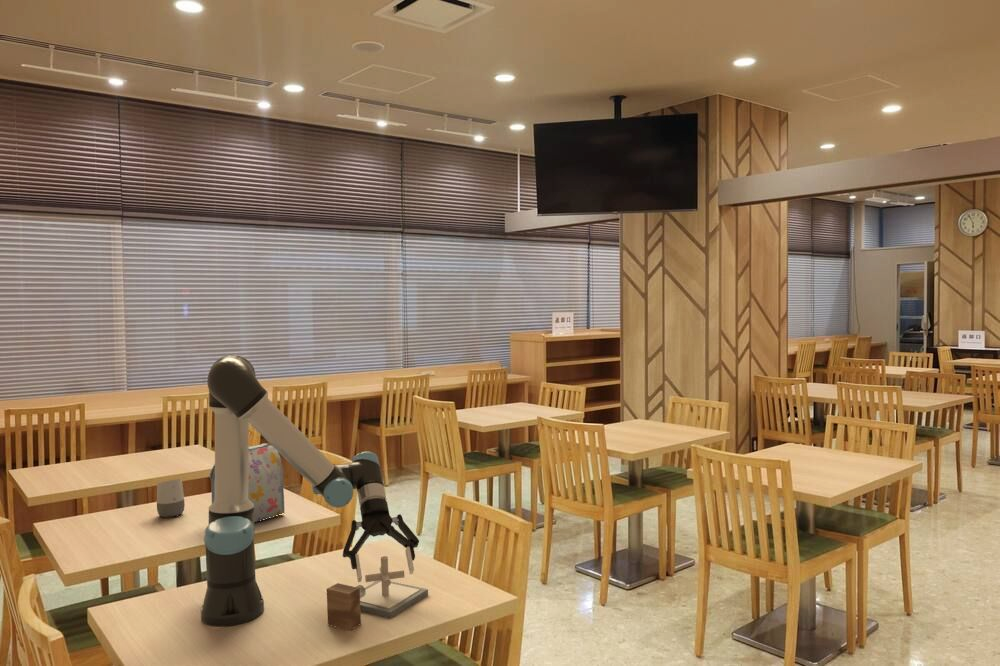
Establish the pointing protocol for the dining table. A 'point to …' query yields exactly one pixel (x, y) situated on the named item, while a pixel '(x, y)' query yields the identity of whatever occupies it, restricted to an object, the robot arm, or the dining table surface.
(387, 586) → the pipe connector
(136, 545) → the dining table surface
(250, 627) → the dining table surface
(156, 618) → the dining table surface
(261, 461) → the lunch bag
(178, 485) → the smart speaker
